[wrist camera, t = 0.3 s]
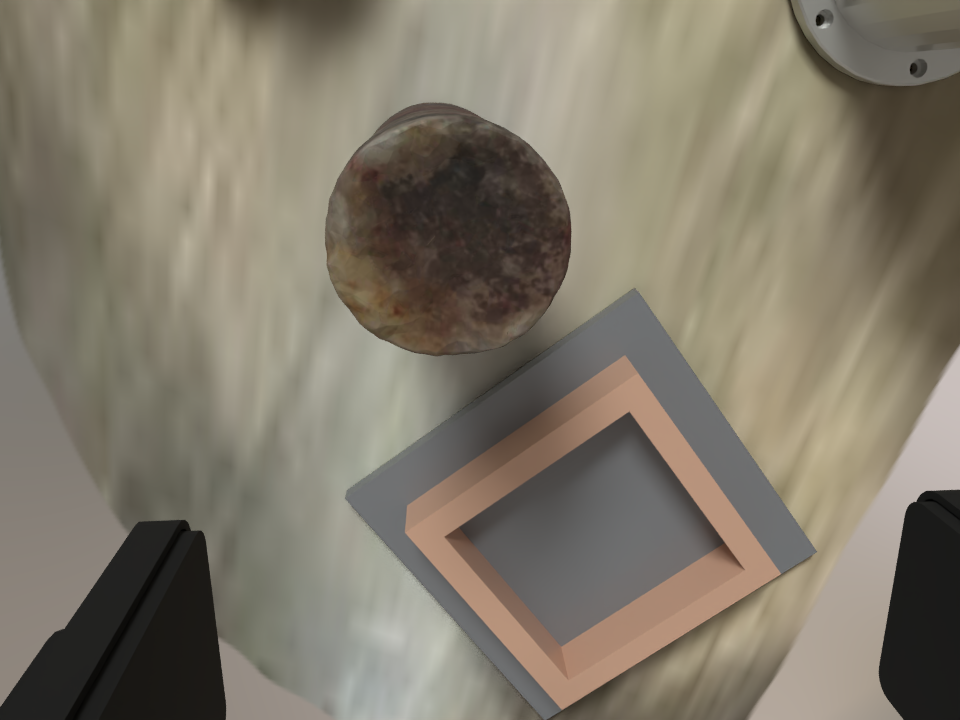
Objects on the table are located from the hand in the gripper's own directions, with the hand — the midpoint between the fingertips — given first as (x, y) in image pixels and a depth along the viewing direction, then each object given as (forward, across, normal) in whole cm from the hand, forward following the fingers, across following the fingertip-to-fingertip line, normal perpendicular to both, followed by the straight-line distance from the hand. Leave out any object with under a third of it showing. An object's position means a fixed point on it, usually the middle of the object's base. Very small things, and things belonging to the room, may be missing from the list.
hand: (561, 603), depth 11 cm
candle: (+33, +1, -3) cm, 34 cm away
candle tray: (+33, -7, +17) cm, 38 cm away
